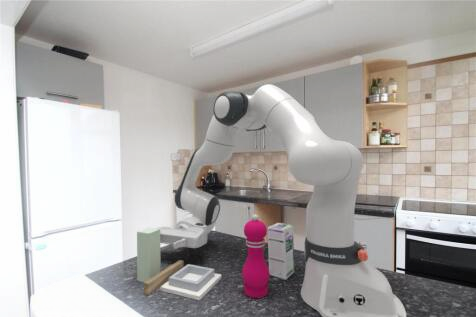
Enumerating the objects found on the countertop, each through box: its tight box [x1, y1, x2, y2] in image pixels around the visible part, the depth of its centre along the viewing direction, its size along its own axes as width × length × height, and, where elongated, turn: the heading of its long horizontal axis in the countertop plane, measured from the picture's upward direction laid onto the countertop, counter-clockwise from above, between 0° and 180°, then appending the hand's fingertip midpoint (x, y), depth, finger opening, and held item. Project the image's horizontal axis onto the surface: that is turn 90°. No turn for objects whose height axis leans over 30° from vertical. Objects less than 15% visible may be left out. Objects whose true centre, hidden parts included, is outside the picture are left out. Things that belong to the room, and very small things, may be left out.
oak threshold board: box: [143, 259, 185, 296], centre depth 69 cm, size 2×15×3 cm, turn 157°
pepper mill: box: [241, 214, 271, 299], centre depth 63 cm, size 7×7×20 cm
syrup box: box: [267, 222, 295, 281], centre depth 72 cm, size 6×6×14 cm
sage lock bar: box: [136, 227, 162, 283], centre depth 70 cm, size 4×4×14 cm
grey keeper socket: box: [159, 263, 223, 301], centre depth 67 cm, size 12×12×3 cm
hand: (160, 244), depth 75 cm, fingers open, 8 cm apart
